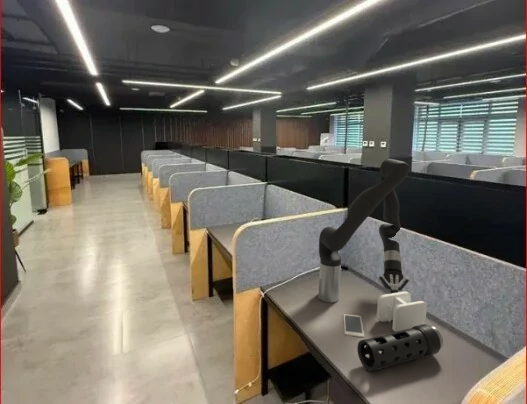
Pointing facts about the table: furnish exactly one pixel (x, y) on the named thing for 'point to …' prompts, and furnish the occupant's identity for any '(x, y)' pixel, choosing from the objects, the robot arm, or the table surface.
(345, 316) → the phone
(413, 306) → the white toothbrush holder
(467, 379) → the table surface
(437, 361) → the table surface
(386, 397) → the table surface
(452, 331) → the table surface
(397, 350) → the muzzle brake
